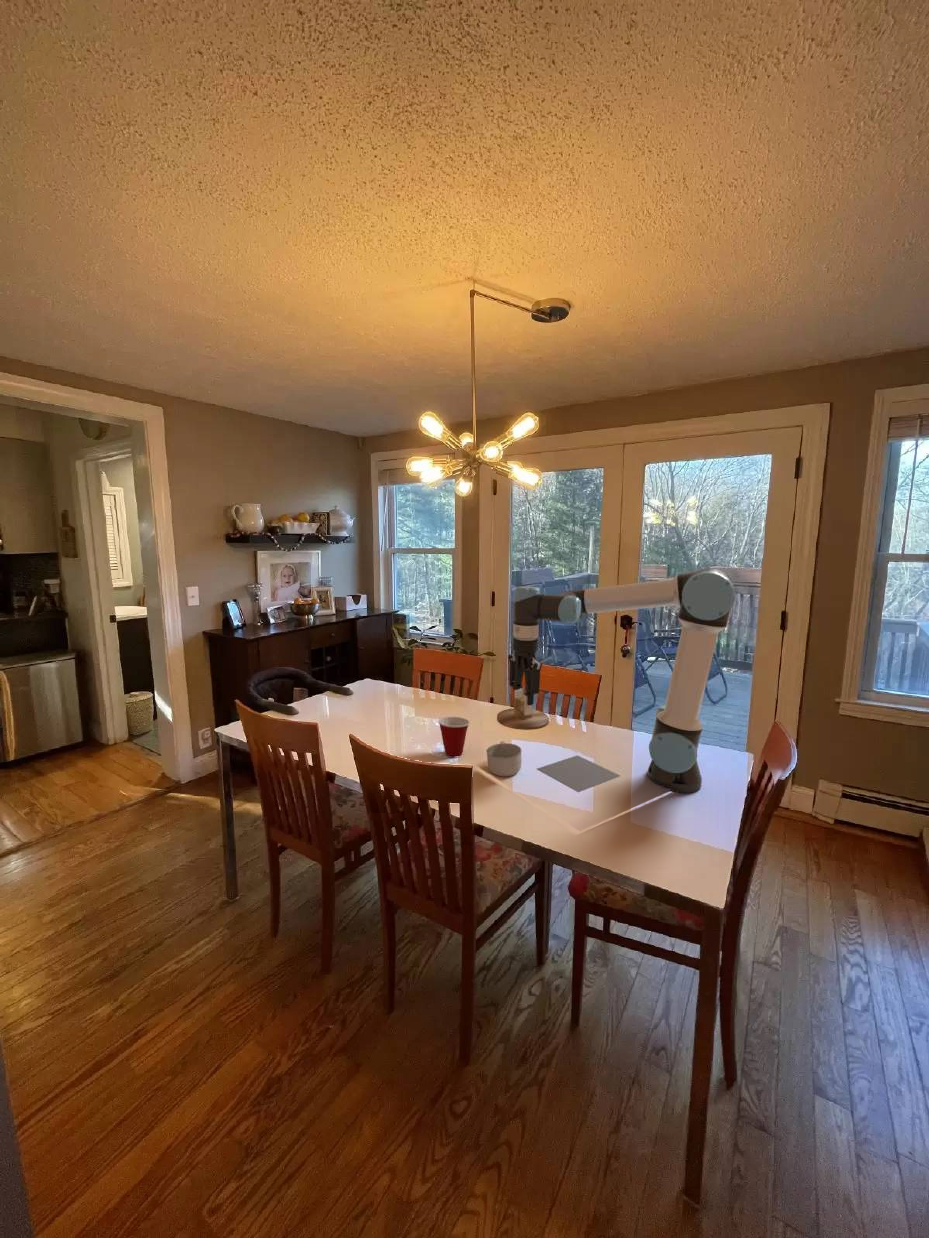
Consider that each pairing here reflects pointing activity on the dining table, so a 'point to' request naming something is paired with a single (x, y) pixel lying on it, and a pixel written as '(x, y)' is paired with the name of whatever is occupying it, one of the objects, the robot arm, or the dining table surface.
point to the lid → (522, 717)
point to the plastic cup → (453, 734)
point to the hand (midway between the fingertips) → (522, 712)
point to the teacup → (504, 759)
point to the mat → (578, 773)
